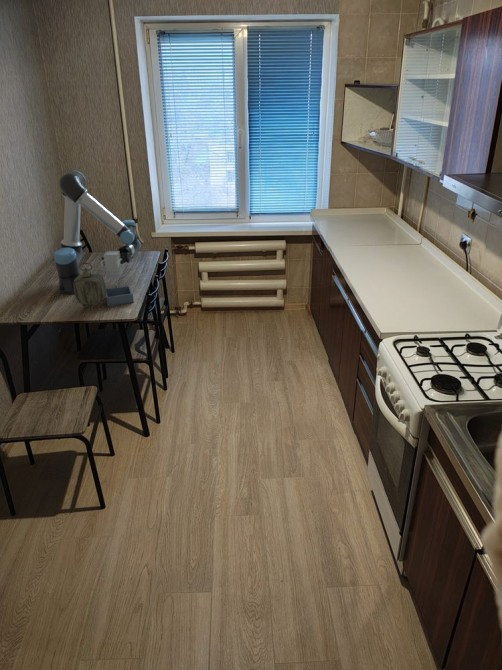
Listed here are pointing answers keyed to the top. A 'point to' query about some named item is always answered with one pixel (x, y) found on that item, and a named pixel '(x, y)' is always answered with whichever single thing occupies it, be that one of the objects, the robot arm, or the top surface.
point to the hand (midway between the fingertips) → (109, 264)
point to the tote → (119, 296)
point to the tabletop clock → (89, 288)
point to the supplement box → (112, 263)
